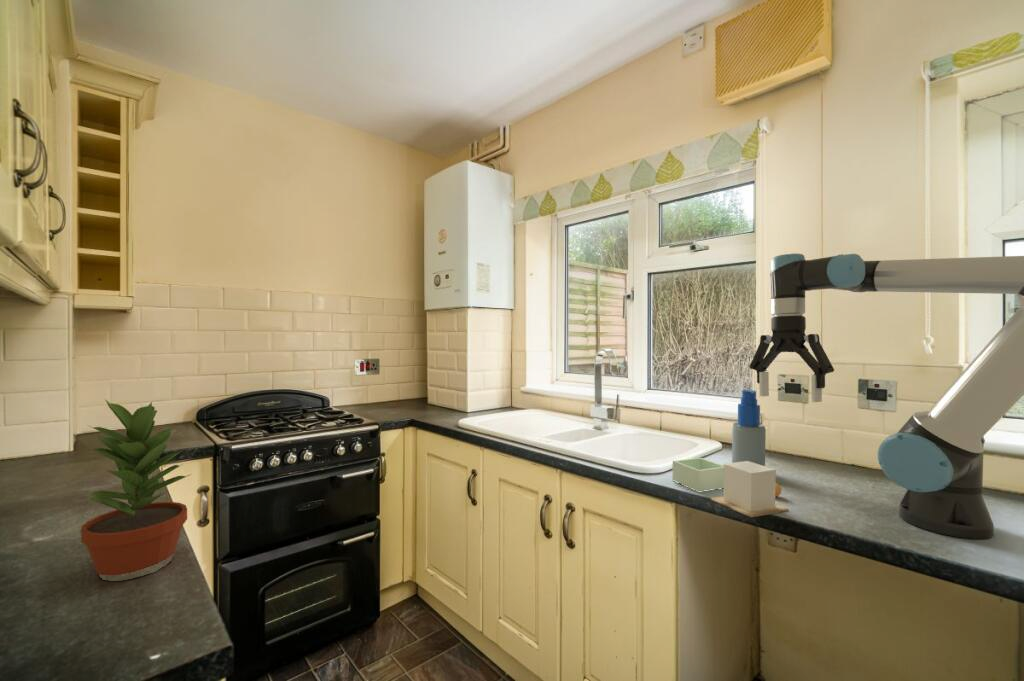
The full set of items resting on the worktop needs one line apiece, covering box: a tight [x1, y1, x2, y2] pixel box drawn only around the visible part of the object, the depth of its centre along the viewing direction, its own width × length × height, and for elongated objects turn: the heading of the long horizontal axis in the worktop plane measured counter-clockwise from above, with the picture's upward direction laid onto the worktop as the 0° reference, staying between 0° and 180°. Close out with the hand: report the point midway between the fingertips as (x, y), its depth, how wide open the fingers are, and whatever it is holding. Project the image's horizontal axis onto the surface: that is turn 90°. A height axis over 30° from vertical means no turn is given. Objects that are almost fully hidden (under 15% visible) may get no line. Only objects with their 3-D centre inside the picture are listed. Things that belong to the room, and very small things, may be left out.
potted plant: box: [80, 398, 192, 575], centre depth 81 cm, size 15×15×30 cm
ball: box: [775, 482, 782, 498], centre depth 117 cm, size 4×4×4 cm
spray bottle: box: [731, 389, 767, 466], centre depth 137 cm, size 9×9×25 cm
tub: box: [672, 457, 724, 491], centre depth 126 cm, size 10×10×6 cm
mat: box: [710, 495, 790, 519], centre depth 111 cm, size 12×12×1 cm
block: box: [722, 461, 777, 511], centre depth 111 cm, size 8×8×9 cm
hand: (789, 399), depth 115 cm, fingers open, 13 cm apart
